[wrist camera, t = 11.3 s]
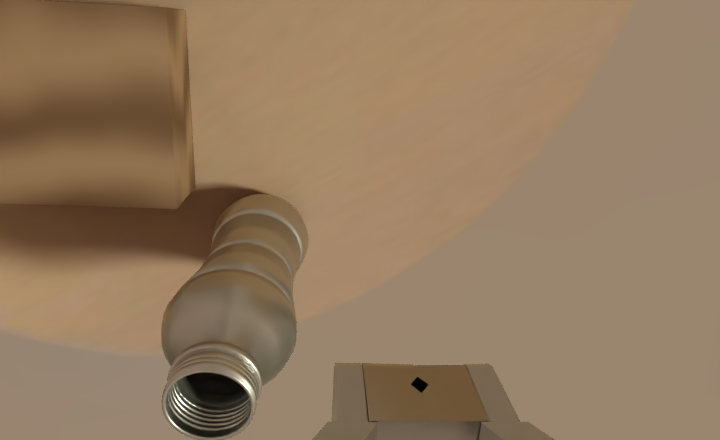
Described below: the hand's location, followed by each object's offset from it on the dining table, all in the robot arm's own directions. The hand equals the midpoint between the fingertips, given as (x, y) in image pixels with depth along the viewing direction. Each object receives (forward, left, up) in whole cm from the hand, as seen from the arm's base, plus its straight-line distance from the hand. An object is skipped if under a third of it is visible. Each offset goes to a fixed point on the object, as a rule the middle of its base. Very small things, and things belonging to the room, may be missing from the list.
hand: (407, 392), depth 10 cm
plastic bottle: (+8, -6, -29) cm, 31 cm away
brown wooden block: (-1, -16, -29) cm, 33 cm away
